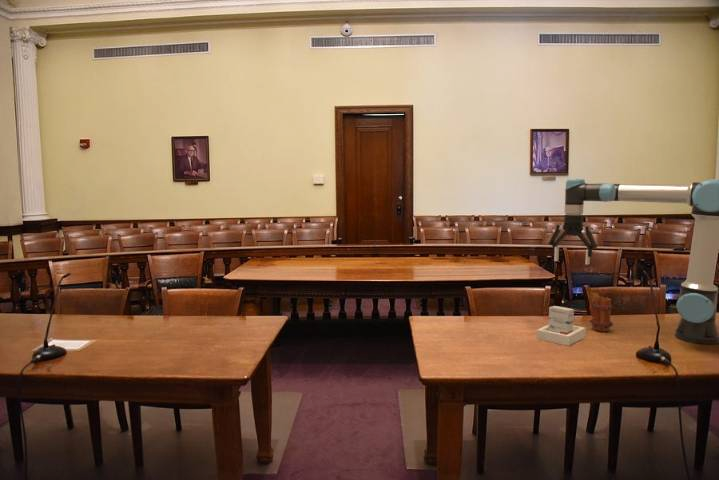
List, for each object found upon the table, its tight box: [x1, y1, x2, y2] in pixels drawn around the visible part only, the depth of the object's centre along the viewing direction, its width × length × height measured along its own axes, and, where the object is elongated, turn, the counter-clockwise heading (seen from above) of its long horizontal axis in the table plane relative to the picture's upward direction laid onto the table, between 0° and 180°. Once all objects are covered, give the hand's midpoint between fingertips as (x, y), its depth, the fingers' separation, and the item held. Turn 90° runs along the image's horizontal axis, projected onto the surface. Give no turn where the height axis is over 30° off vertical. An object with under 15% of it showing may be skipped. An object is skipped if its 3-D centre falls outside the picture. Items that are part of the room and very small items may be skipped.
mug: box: [588, 292, 614, 333], centre depth 217 cm, size 15×8×15 cm, turn 179°
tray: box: [536, 324, 586, 347], centre depth 204 cm, size 13×17×4 cm
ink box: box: [547, 305, 575, 335], centre depth 204 cm, size 8×5×12 cm, turn 41°
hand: (571, 262), depth 219 cm, fingers open, 13 cm apart
